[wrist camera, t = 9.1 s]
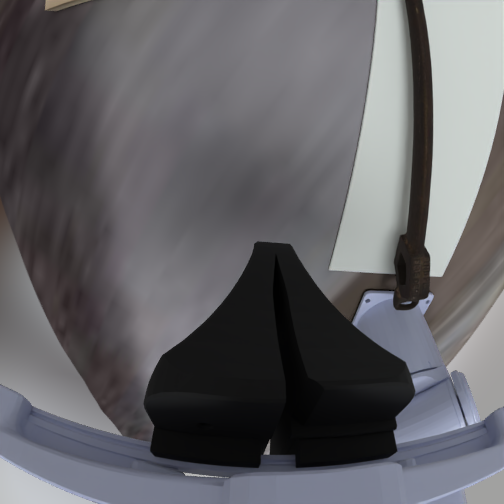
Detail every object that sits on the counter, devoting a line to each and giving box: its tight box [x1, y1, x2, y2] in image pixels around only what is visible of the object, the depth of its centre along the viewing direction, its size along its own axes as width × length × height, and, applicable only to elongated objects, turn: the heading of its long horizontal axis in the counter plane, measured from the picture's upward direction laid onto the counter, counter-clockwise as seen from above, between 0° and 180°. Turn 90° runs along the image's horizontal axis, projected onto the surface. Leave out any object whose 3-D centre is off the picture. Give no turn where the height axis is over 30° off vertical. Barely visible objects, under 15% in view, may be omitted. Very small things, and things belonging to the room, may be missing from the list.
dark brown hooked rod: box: [393, 0, 433, 310], centre depth 16 cm, size 5×5×30 cm
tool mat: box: [329, 0, 504, 277], centre depth 17 cm, size 28×12×1 cm, turn 176°
